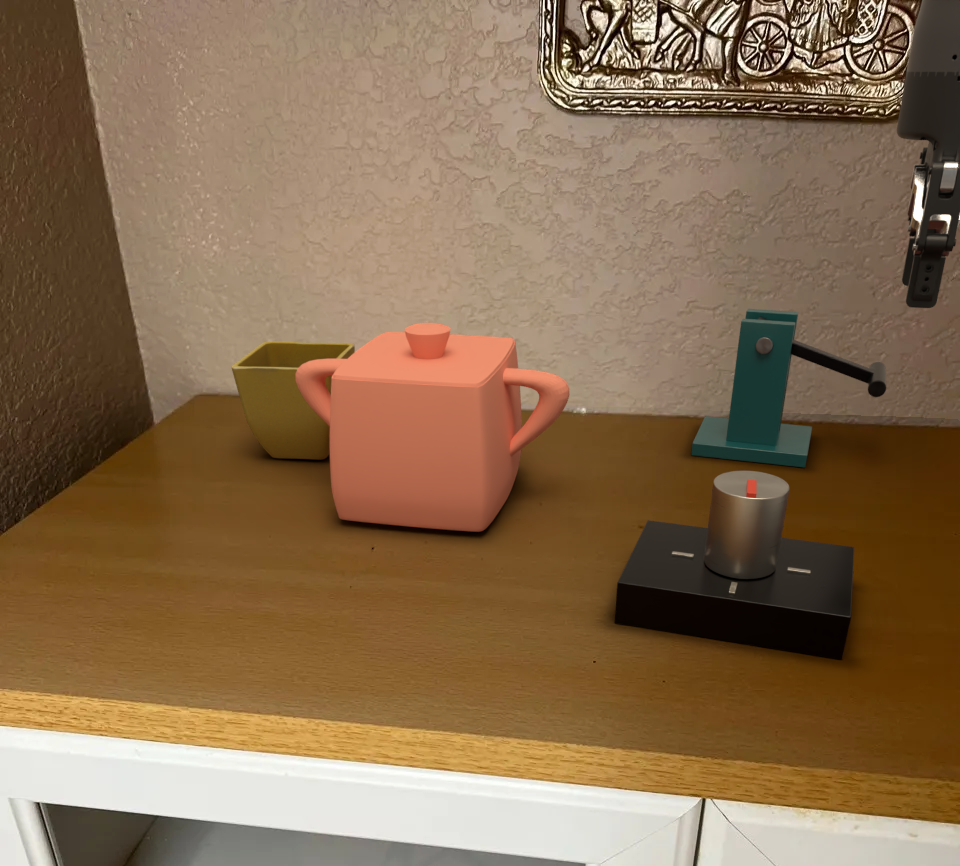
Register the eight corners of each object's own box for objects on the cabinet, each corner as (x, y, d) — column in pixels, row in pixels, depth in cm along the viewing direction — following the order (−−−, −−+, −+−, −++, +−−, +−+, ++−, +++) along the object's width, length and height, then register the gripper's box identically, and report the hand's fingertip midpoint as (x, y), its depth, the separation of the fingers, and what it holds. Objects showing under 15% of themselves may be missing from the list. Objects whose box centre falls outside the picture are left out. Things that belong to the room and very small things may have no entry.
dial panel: (846, 586, 67) (854, 544, 66) (841, 659, 59) (851, 614, 58) (644, 557, 71) (647, 517, 70) (614, 623, 63) (617, 579, 62)
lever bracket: (810, 438, 93) (832, 310, 87) (805, 468, 86) (828, 331, 80) (703, 427, 95) (717, 302, 89) (691, 455, 89) (705, 322, 83)
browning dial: (705, 544, 66) (715, 463, 63) (775, 551, 65) (789, 469, 62) (702, 575, 62) (712, 490, 59) (776, 583, 61) (791, 496, 58)
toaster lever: (878, 385, 87) (891, 360, 86) (878, 405, 83) (892, 378, 81) (750, 336, 89) (761, 311, 88) (742, 353, 84) (754, 326, 83)
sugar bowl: (549, 548, 73) (556, 360, 66) (273, 522, 77) (250, 343, 70) (584, 455, 89) (593, 297, 82) (355, 438, 94) (344, 286, 86)
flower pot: (242, 466, 88) (228, 365, 83) (275, 433, 95) (264, 339, 90) (337, 471, 86) (328, 369, 82) (363, 437, 94) (356, 342, 89)
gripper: (903, 66, 79) (867, 278, 87) (911, 67, 67) (869, 312, 75) (1006, 63, 76) (959, 281, 85) (1033, 65, 65) (976, 317, 73)
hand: (917, 295), depth 80 cm, fingers open, 8 cm apart
